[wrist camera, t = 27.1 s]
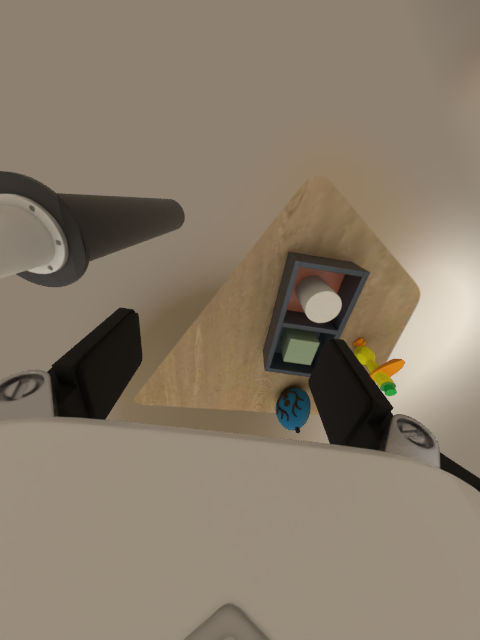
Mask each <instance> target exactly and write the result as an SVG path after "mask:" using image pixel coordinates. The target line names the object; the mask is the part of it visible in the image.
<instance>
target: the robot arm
mask: <svg viewBox="0 0 480 640" xmlns="http://www.w3.org/2000/svg"><path fill="white" fill-rule="evenodd" d="M68 255H69V252H68V243H67V240H66V237H65V234H64V232H63V231H62V229H61V227H60V225H59V224H58V223H57V221H56V220H55V219H54V217H53V216H52V215H51V214H50V213H49V212H48V211H47V210H45V209H44V208H43V207H42V206H41V205H39V204H38V203H36V202H34V201H33V200H31V199H29V198H26V197H24V196H20V195H17V194H0V278H3V277H7V276H10V275H13V274H17V273H20V272H23V271H26V270H27V271H30V272H33V273H37V274H49V273H53V272H56V271H58V270H60V269H61V268H62V267H63V266H64V265H65V264H66V262H67V259H68ZM141 362H142V348H141V337H140V326H139V316H138V313H135V311H134V310H133V309H127V308H119V309H118V310H116V311H115V312H114V313H113V314H112V315H111V316H109V317H108V318H107V319H106V320H105V321H104V322H102V323H101V324H100V325H99V326H98V327H96V328H95V329H94V330H93V331H92V332H91V333H89V334H88V335H87V336H86V337H85V338H83V339H82V340H81V341H80V342H79V343H78V344H76V345H75V346H74V347H73V348H72V349H71V350H69V351H68V352H67V353H66V354H65V355H64V356H62V357H61V358H60V359H59V360H58V361H57V362H55V363H54V364H53V365H52V368H51V369H50V370H49V371H48V372H45V371H41V370H28V371H23V372H19V373H16V374H13V375H10V376H8V377H6V378H4V379H2V380H0V640H480V478H478V477H477V476H475V475H473V474H472V473H470V472H469V471H467V470H466V469H464V468H463V467H461V466H460V465H458V464H457V463H455V462H454V461H452V460H451V459H449V458H448V457H446V456H445V455H443V454H442V453H440V451H439V444H438V441H437V440H436V438H435V436H434V435H433V434H432V433H431V432H430V431H429V430H428V429H427V428H426V427H425V426H424V425H423V424H421V423H420V422H418V421H417V420H415V419H413V418H411V417H409V416H406V415H401V414H397V415H394V416H393V414H392V413H391V410H392V409H393V407H392V405H391V404H390V402H389V401H388V400H387V398H386V397H385V396H384V394H383V393H382V392H381V390H380V389H379V387H378V386H377V385H376V383H375V382H374V381H373V379H372V378H371V376H370V375H369V374H368V372H367V371H366V370H365V368H364V367H363V366H362V364H361V363H360V361H359V360H358V359H357V357H356V356H355V355H354V353H353V352H352V351H351V349H350V348H349V346H348V345H347V344H346V342H345V341H344V340H340V339H333V338H332V339H330V340H329V341H326V342H325V344H324V347H323V349H322V351H321V353H320V356H319V358H318V360H317V362H316V365H315V367H314V369H313V371H312V373H311V376H310V378H309V387H310V390H311V392H312V395H313V398H314V401H315V404H316V406H317V409H318V412H319V415H320V417H321V420H322V423H323V426H324V429H325V431H326V434H327V437H328V440H329V442H330V444H325V443H317V442H308V441H299V440H291V439H282V438H273V437H264V436H255V435H246V434H237V433H228V432H219V431H209V430H199V429H190V428H181V427H172V426H162V425H152V424H143V423H133V422H123V421H111V420H105V419H106V417H107V416H108V414H109V413H110V411H111V410H112V408H113V406H114V405H115V403H116V402H117V400H118V399H119V397H120V395H121V394H122V392H123V391H124V389H125V388H126V386H127V384H128V383H129V381H130V380H131V378H132V376H133V375H134V373H135V372H136V370H137V369H138V367H139V366H140V364H141Z"/></svg>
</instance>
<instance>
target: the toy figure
mask: <svg viewBox="0 0 480 640" xmlns="http://www.w3.org/2000/svg"><path fill="white" fill-rule="evenodd" d="M353 345H354V346H355V347H356V349H355V352H354V354H355V356H356V357H357V359H358V360H359V361H360V363H361V364H364V365H366V366H367V368H368V370H369V372H370V376H371V378H372V379H373V381H375V382H376V383H377V384H378V386H379V387H380V389H381V390H382V391H385V394H386V395H388V396H392V395H395V394H396V393H397V391H396V389H395V387H396V385H395V384H394V383H393V381H392V379H391V378H390V377H391V376H392V375H394V374H395V373H397V372H398V371H399V370H400V369H401V368H402V367H403V365H404V364H405V362H404V361H403V360H402V359H392V360H390V361H388V362H386V363H385V364H383V365H381V366H379V365H378V364H377V363H376V362H375V354H374V352H373V351H372V350H371V349H370V348H368V347H365V345H366V342H365V341H363V339H362V338H359V339H357V340H356V341H355V342H354V343H353Z"/></svg>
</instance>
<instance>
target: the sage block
mask: <svg viewBox="0 0 480 640" xmlns="http://www.w3.org/2000/svg"><path fill="white" fill-rule="evenodd" d="M319 344H320V342H319V340H318V338H317V337H316V335H315V333H314V331H308V330H301V329H294V328H288V327H285V329H284V333H283V336H282V339H281V343H280V348H281V352H282V357H283V361H285V362H292V363H299V364H306V365H311V363H312V360H313V358H314V356H315V353H316V351H317V348H318V346H319Z"/></svg>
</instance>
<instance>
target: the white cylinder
mask: <svg viewBox="0 0 480 640" xmlns="http://www.w3.org/2000/svg"><path fill="white" fill-rule="evenodd" d="M296 296H297V298H298V300H299V302H300V304H301V306H302V308H303V310H304V312H305V314H306V316H307V317H308V318H309V319H310V320H311V321H313V322H316V323H325V322H328V321H330V320H332V319H334V318H335V317H336V316H337V315H338V314H339V312H340V310H341V306H342V302H341V299H340V297H339V296H338V295H337V294H336V293H335V292H334V291H333V289H332V288H331V287H330V286H329V285H328V284H327V283H326V282H325V281H324V280H323V279H322V278H320V277H318V276H314V275H313V276H307V277H305V278H303V279H302V280H301V281H300V282H299V283H298V285H297V287H296Z"/></svg>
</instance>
